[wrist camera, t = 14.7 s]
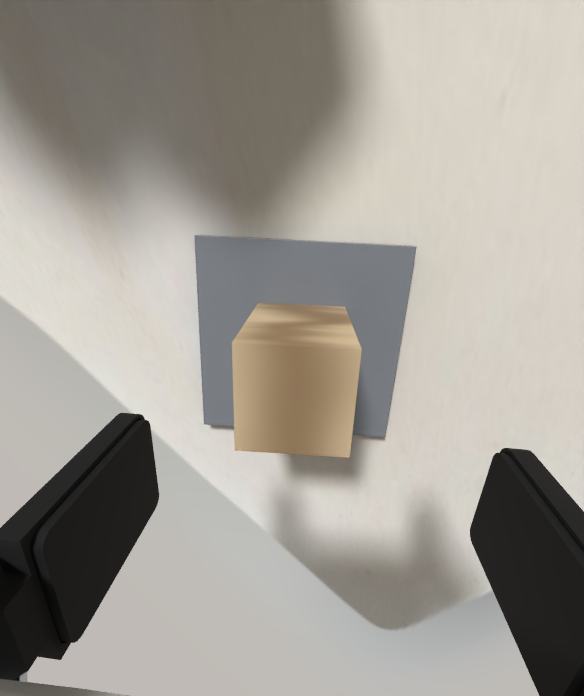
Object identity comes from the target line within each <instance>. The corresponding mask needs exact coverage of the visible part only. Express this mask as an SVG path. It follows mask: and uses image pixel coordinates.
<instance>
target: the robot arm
mask: <svg viewBox="0 0 584 696" xmlns="http://www.w3.org/2000/svg"><path fill="white" fill-rule="evenodd" d="M158 499H159V491H158V483H157V475H156V468H155V460H154V452H153V444H152V436H151V428H150V423H149V421H147V420H145V419H144V417H143V415H140V414H129V413H120V414H118V415H117V416H116V417H115V418H114V419H113V420H112V421H111V422H110V423H109V424H108V425H106V426H105V427H104V429H102V430H101V431H100V432H99V433H98V434H97V435H96V436H95V437H94V438H93V439H92V440H91V441H90V442H89V443H88V444H87V445H86V446H85V447H84V448H83V449H82V450H81V451H80V452H79V453H77V454H76V455H75V456H74V457H73V458H72V459H71V460H70V461H69V462H68V463H67V464H66V465H65V466H64V467H63V468H62V469H61V470H60V471H59V472H58V473H57V474H56V475H55V476H54V477H53V478H52V479H51V480H50V481H49V482H48V483H46V484H45V486H43V487H42V488H41V489H40V490H39V491H38V492H37V493H36V494H35V495H34V496H33V497H32V498H31V499H30V500H29V501H28V502H27V503H26V504H25V505H24V506H23V507H22V508H20V510H18V511H17V512H16V513H15V514H14V515H13V516H12V517H11V518H10V519H9V520H8V521H7V522H6V523H5V524H4V525H3V526H2V527H1V528H0V696H128V695H120V694H114V693H107V692H100V691H93V690H87V689H79V688H71V687H62V686H54V685H45V684H38V683H37V684H36V683H29V682H27V671H28V670H29V669H30V667H31V666H32V664H33V663H34V661H35V659H36V658H37V657H44V658H51V659H58V660H61V659H62V657H63V655H64V654H65V652H66V650H67V648H68V647H69V645H70V643H71V642H72V643H73V642H76V641H78V639H79V638H80V637H81V636H82V634H83V633H84V631H85V629H86V628H87V626H88V624H89V622H90V621H91V619H92V617H93V616H94V614H95V612H96V610H97V609H98V607H99V605H100V603H101V602H102V600H103V598H104V597H105V595H106V593H107V591H108V590H109V588H110V586H111V584H112V583H113V581H114V579H115V577H116V576H117V574H118V572H119V570H120V569H121V567H122V565H123V564H124V562H125V560H126V559H127V557H128V555H129V553H130V552H131V550H132V548H133V546H134V545H135V543H136V541H137V539H138V538H139V536H140V534H141V533H142V531H143V529H144V527H145V526H146V524H147V522H148V520H149V519H150V517H151V515H152V514H153V512H154V510H155V508H156V506H157V503H158ZM470 537H471V541H472V544H473V546H474V549H475V551H476V553H477V556H478V558H479V560H480V562H481V565H482V567H483V569H484V571H485V574H486V576H487V578H488V580H489V583H490V585H491V587H492V589H493V592H494V594H495V596H496V598H497V601H498V603H499V605H500V607H501V610H502V612H503V614H504V617H505V619H506V621H507V623H508V625H509V628H510V630H511V632H512V635H513V637H514V639H515V641H516V643H517V646H518V648H519V650H520V653H521V655H522V657H523V659H524V662H525V664H526V666H527V668H528V671H529V673H530V675H531V677H532V680H533V682H534V684H535V686H536V689H537V691H538V693H539V695H540V696H584V512H583V510H582V509H581V508H580V507H579V506H578V505H577V504H576V502H575V501H574V500H573V499H572V498H571V497H570V495H569V494H568V493H567V492H566V491H565V490H564V488H563V487H562V486H561V485H560V484H559V483H558V482H557V480H556V479H555V478H554V477H553V476H552V475H551V473H550V472H549V471H548V470H547V469H546V468H545V466H544V465H543V464H542V463H541V462H540V461H539V460H538V458H537V457H536V456H535V455H534V454H533V453H532V452H531V451H529V450H522V449H511V448H504V449H502V450H501V452H500V453H496V454H495V455H494V456H493V459H492V462H491V465H490V468H489V471H488V475H487V478H486V481H485V484H484V487H483V490H482V493H481V496H480V499H479V503H478V506H477V509H476V512H475V515H474V518H473V521H472V524H471V528H470Z"/></svg>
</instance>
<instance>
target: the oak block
mask: <svg viewBox="0 0 584 696" xmlns="http://www.w3.org/2000/svg"><path fill="white" fill-rule="evenodd" d="M361 352H362V349H361V346H360V344H359V341H358V338H357V336H356V333H355V331H354V328H353V326H352V323H351V321H350V318H349V316H348V313H347V310H346V308H345V307H339V306H317V305H296V304H274V303H258V304H257V305H256V307H255V309H254V310H253V312H252V313H251V315H250V316H249V318H248V319H247V321H246V322H245V324H244V325H243V327H242V328H241V330H240V331H239V333H238V334H237V336H236V337H235V339H234V340H233V342H232V366H233V402H234V438H235V450H236V451H252V452H268V453H283V454H299V455H315V456H331V457H347V458H350V450H351V441H352V432H353V423H354V414H355V405H356V396H357V388H358V379H359V370H360V361H361Z"/></svg>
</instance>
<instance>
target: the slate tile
mask: <svg viewBox="0 0 584 696" xmlns="http://www.w3.org/2000/svg"><path fill="white" fill-rule="evenodd" d="M415 253H416V247H415V246H406V245H386V244H367V243H347V242H327V241H307V240H288V239H268V238H248V237H228V236H209V235H195V254H196V273H197V293H198V313H199V333H200V353H201V372H202V392H203V412H204V424H207V425H222V426H234V402H233V366H232V342H233V340H234V339H235V337H236V336H237V334H238V333H239V331H240V330H241V328H242V327H243V325H244V324H245V322H246V321H247V319H248V318H249V316H250V315H251V313H252V312H253V310H254V309H255V307H256V305H257V304H258V303H274V304H296V305H317V306H339V307H345V308H346V310H347V313H348V316H349V318H350V321H351V323H352V326H353V328H354V331H355V333H356V336H357V338H358V341H359V344H360V346H361V349H362V352H361V361H360V370H359V379H358V388H357V396H356V405H355V414H354V423H353V432H352V435H364V436H378V437H385V434H386V428H387V422H388V416H389V410H390V404H391V398H392V392H393V386H394V380H395V374H396V368H397V361H398V355H399V349H400V343H401V337H402V331H403V325H404V319H405V313H406V307H407V301H408V295H409V289H410V283H411V277H412V271H413V265H414V259H415Z"/></svg>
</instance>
